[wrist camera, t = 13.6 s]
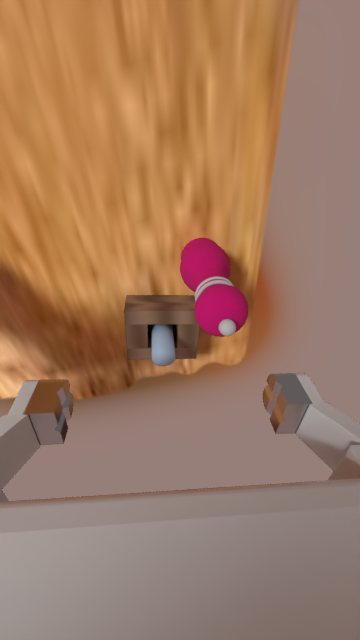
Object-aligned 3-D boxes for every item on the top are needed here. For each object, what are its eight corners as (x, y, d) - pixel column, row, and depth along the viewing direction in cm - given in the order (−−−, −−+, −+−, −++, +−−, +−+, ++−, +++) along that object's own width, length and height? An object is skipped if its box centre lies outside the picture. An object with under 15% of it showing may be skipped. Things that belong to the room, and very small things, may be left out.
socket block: (129, 341, 53) (127, 359, 49) (126, 295, 47) (124, 311, 43) (192, 340, 54) (196, 358, 50) (197, 295, 49) (201, 311, 45)
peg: (151, 311, 50) (151, 348, 42) (171, 311, 50) (175, 348, 42) (151, 328, 52) (151, 366, 44) (171, 328, 52) (174, 365, 44)
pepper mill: (226, 271, 47) (267, 350, 30) (184, 282, 47) (201, 366, 31) (218, 228, 42) (261, 293, 26) (172, 241, 43) (185, 313, 27)
